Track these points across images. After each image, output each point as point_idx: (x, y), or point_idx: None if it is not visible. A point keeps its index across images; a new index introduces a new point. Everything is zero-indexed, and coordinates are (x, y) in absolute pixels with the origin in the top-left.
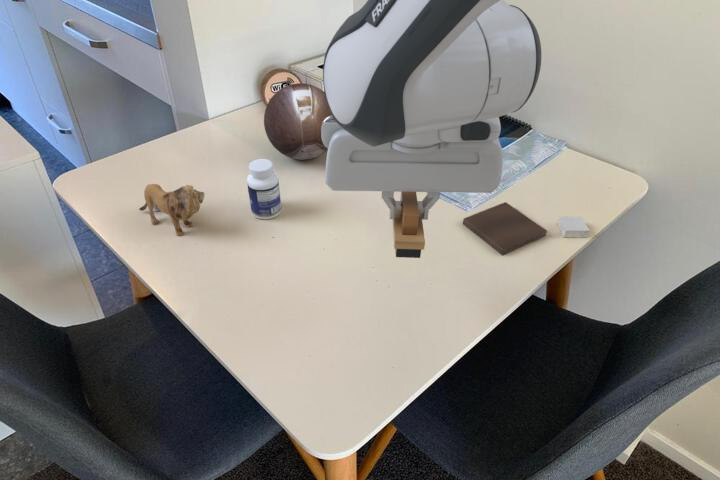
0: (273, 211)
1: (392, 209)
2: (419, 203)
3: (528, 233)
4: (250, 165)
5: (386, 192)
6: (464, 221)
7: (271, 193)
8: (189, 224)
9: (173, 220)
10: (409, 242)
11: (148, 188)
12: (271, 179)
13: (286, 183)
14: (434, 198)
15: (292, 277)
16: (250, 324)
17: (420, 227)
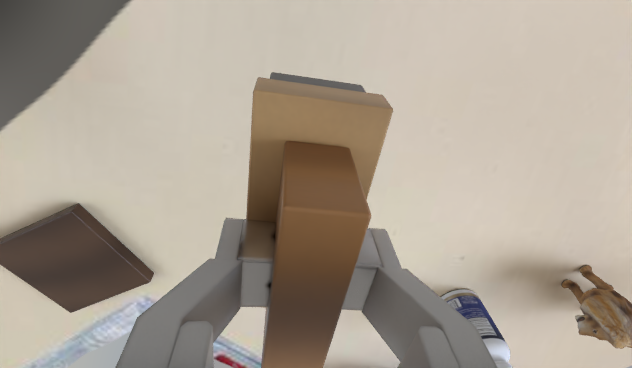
0: (455, 301)
1: (392, 264)
2: (256, 294)
3: (20, 246)
4: None
5: (468, 360)
6: (149, 276)
7: None
8: (569, 283)
9: (611, 288)
10: (327, 97)
11: None
12: None
13: None
14: (170, 318)
15: (460, 179)
16: (564, 81)
17: (259, 188)
